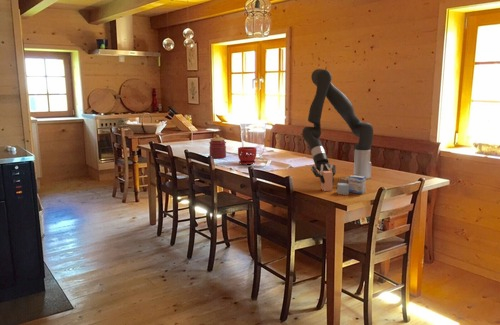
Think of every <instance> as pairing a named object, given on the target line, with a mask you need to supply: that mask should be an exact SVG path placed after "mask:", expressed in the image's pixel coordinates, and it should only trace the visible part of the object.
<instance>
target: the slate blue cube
mask: <svg viewBox="0 0 500 325" xmlns="http://www.w3.org/2000/svg"><path fill="white" fill-rule="evenodd" d="M336 184H337V185H336V193H337V194H338V195H339V194H343V195H345V196H346V195H347V196H349V195H350V192H349V185H348V184H347V183H340V182H337V183H336ZM343 195H342V196H343Z"/></svg>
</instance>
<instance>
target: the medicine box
mask: <svg viewBox="0 0 500 325" xmlns="http://www.w3.org/2000/svg"><path fill="white" fill-rule="evenodd" d="M348 177H349V193H350V192H351V193H350V194H359V195H363V194H366V184H367V179H366V177H364V176H356V175H354V174H351V175H349V176H348Z"/></svg>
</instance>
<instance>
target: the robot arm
mask: <svg viewBox="0 0 500 325" xmlns="http://www.w3.org/2000/svg"><path fill="white" fill-rule="evenodd" d="M310 77H311V81H312V83H313V85H315V87H316V91H315V95H314V98H313V100H312V102H311V104H310V107H309V111H308V117H307V118H308V119H307V121H308V123H311V124H313V126H305V127H304V128H303V129H302V132H301V133H302V137H303V140H304V141H305V143H307V145H308V146H309V150H310V152H311V156H312V161H313V163H314V165H315V166H314V165H313V166H311V168H310V170H311V171H312V173H313V175H314V177H316V178H319V179H320V183H321V182H322V183H323V184H324V182H325V180H324V177H323V176H322V175H323V174H322V172H323V171H331V172H333V179H332V184H333V183H334V182H335V179H334V178H335V177H334V176H335V175H336V173H337V172H336V170H337V169H336V165H335V164H333V165H332V164H330V162H329V159H328V156H327V153H326V150H325V148H324V145H323V142H322V141H321V140H320V138H321V135H322V128H321V124H322V123H321V118H322V112H323V108H324V104H325V100H326V99H327V100H328V101H329V103H330V104H331V106H332V107H333V108H334V109H335V111H336V112H337V113H338V115H339V116H340V117H341V118H342V119H343V120H344V122H345V123H346V124H347V126H348V128H349V129H350V130H351V132H352V133H353V135H354V136H355V137H357V138H359V140H358V143H356V144H354V153H353V154H354V157H353V158H354V159H353V161H354V162H353V175H356V176H364V177H366V180H368V179H371V178H372V162H371V152H372V150H371V148H372V145H373V138H374V128H373V125H372V124H371V123H369V122H365V121H361V119H360V118H358V117H357V115H356V113H355V110H354V105H353V104H352V102H351V101H350V99H349V98H348V97H347V95H346V94H345V93H343V92H342V91H341V90H340V89H339V88H337V87H336V86H335V85H334V84H333V83H332V79H333V78H332V77H333V76H332V73H331V72H330V71H329V70H327V69H323V68H317V69H314V70H313V71H312V73H311V76H310Z"/></svg>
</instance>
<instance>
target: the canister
mask: <svg viewBox="0 0 500 325" xmlns="http://www.w3.org/2000/svg"><path fill="white" fill-rule="evenodd" d="M225 140H226V138H224V137H222V136H221V137H220V135H219V134H217V135H215V136H214V137H211V138H210V140H209V142H208V143H209V157H210V156H212V157H213V158H212V159H216V160H217V159H218V160H220V159H226V158H227V146H226V143H227V141H225Z"/></svg>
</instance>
